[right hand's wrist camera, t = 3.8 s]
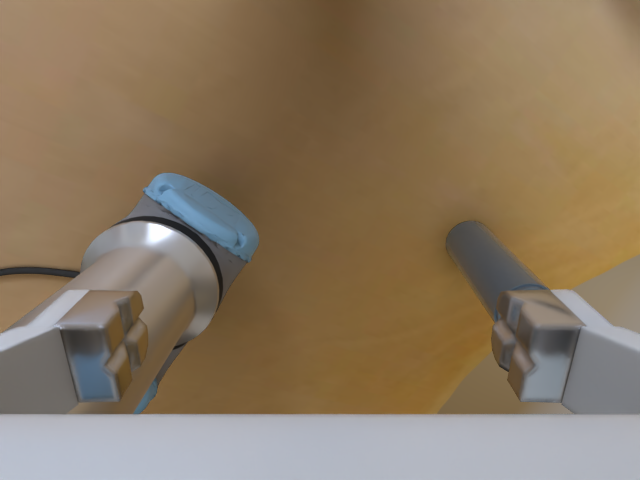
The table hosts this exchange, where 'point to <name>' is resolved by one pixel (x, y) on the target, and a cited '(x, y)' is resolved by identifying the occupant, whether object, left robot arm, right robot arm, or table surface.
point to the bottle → (488, 264)
